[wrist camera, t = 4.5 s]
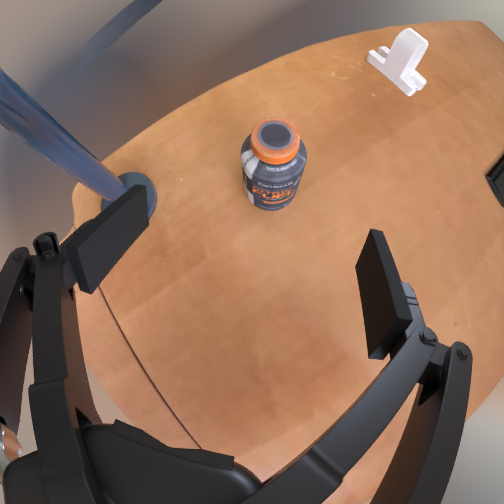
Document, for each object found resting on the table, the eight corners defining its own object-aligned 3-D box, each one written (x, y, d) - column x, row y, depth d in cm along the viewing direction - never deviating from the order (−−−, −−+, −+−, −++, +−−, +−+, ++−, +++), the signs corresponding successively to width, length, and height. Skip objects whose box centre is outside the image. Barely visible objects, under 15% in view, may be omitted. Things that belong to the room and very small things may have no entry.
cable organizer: (408, 97, 34) (434, 58, 24) (364, 59, 36) (380, 17, 26) (423, 88, 35) (447, 52, 25) (381, 52, 36) (397, 13, 26)
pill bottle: (249, 215, 32) (243, 173, 21) (241, 169, 33) (232, 112, 22) (300, 207, 32) (320, 162, 21) (290, 162, 33) (301, 104, 22)
